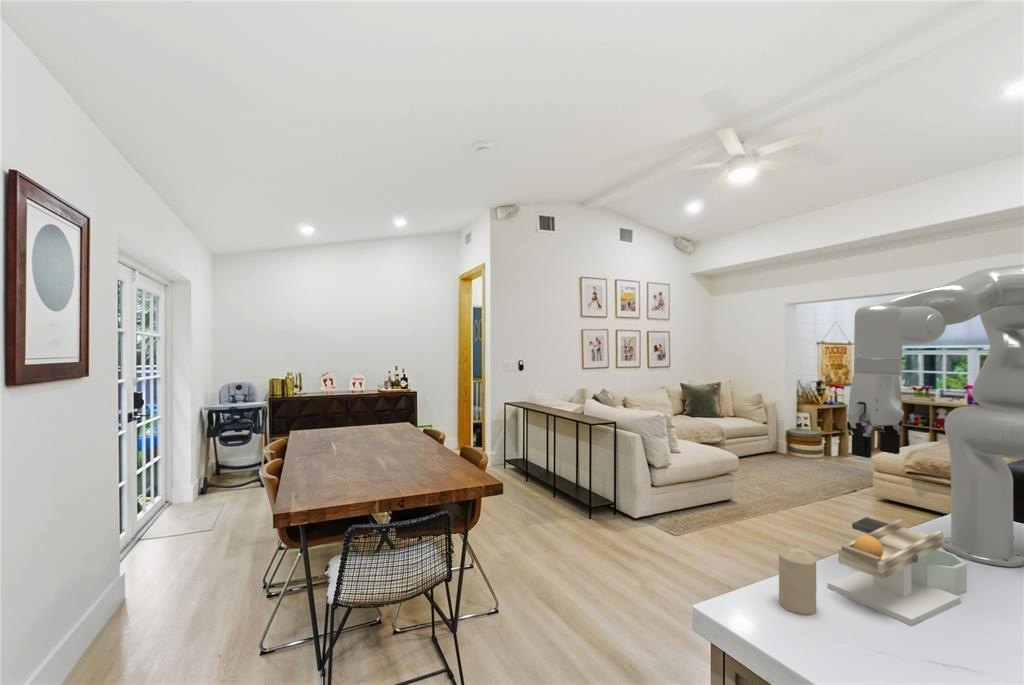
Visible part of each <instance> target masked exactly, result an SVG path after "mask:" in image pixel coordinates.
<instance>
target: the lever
mask: <svg viewBox="0 0 1024 685" xmlns="http://www.w3.org/2000/svg"><path fill="white" fill-rule="evenodd" d="M851 528H852V529H853V530H856V531H859V532H862V533H865V534H866V535H869V536H872V537H874V538H876V539H877V540H878V541H879V542H880V543H881V544H882V546H883V555H882V556H881V558H880V557H878V556H875V555H872V554H869V553H866V552H864V551H861V550H858V549H855V540H856V539H854V540H852V541H850V542H848V543H846V544H843V545H841V546H840V547H838V548H837V554H838V563H839V564H841V565H845V566H847V567H849V568H851V569H854V570H857V571H858V572H859V571H861V572H864V573H866V574H869V575H872V576H874V577H877V578H879V579H882V580H883V579H885V578H887V577H889V576H890V575H892V574H894V573H896V572H897V571H899V570H901V569H903V568H905V567H906V566H908V565H910V564H912V563H913V562H914V563H917V561H918V560H919V559H920V558H922V557H924V556H926V555H927V554H929V553H931V552H933V551H935V550H936V549H940V548H941V547H942V548H943V545H944V542H943V539H944V531H942V530H939V529H938V530H937V531H935V532H933V533H931V534H927V533H925V532H921V531H918V530H915V529H911V528H908V527H904V520H903V519H900V518H897V520H894V521H892V522H890V523H887V522H885V521H880V520H877V519H874V518H870V517H868V516H865V517H864V518H862V519H860V520H857V521H854V522H852V524H851Z"/></svg>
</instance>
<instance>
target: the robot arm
mask: <svg viewBox="0 0 1024 685" xmlns="http://www.w3.org/2000/svg"><path fill="white" fill-rule="evenodd" d="M854 313H855V314H854V333H853V334H854V335H853V336H854V337H853V340H854V343H853V347H854V348H853V376H852V380H851V383H850V390H849V399H848V411H847V415H846V416H847V420H848V427H849V429H850V435H851V454H852V455H854V456H858V457H862V458H866V459H867V458H869V459H870V458H872V447H873V446H872V442H873V441H872V437H871V436H870V434H871V432H872V430H873V428H874V427H876V428H877V427H880V428H881V429H882V431H880V433H879V451H880V452H882V453H888V454H892V455H893V454H894V455H899V454H900V453H901V452H900V451H901V450H900V449H901V434H902V428H901V427H902V425H903V418H904V415H905V412H904V410H903V409H902V391H901V380H900V377H902V376H903V373H902V371H903V369H902V367H903V353H902V352H903V345H921V344H929V343H932V342H934V341H936V340H938V339H940V338H941V337H942V336H943V335H944V333H945V330H946V327H947V326H949V325H950V326H951V325H956V324H960V323H964V322H967V321H969V320H972V319H973V318H976V317H977V316H979V317H980V318H979V319H980V320H981V323H982V326H983V328H984V330H985V333H986V336H987V339H988V342H989V351H988V354H987V356H986V358H985V360H984V362H983V364H982V365H981V367H980V370H979V372H978V374H977V376H976V379H975V380H974V383H973V385H972V388H971V395H972V399H973V401H974V402H975V403H977V404H978V405H980V406H963V407H958V408H955V409H952V410H951V411H949V413H947V415H946V417H945V419H944V432H945V437H946V440H947V441H946V442H947V444H948V449H949V455H950V496H951V497H950V522H951V523H950V530H951V533H950V536H949V537H943V542H944V545H943V546H942V548H944V549H945V551H947V552H949V553H952V554H955V555H956V556H957V557H960V558H964V559H968V560H971V561H974V562H978V563H982V564H987V565H992V566H997V567H1007V568H1008V567H1011V568H1013V567H1014V568H1015V567H1021V566H1023V565H1024V555H1022V554H1021V553H1019V552H1018V551H1016V550H1014V540H1015V535H1014V477H1013V473H1012V471H1011V469H1010V467H1009V465H1008V464H1007V462H1005V461H1004V459H1003V458H1002V456H1004V457H1009V458H1015V459H1021V460H1024V263H1023V264H1016V265H1015V264H1014V265H1007V266H999V267H998V266H997V267H990V268H984V269H980V270H979V269H978V270H976V271H973V272H972V273H969V274H967V275H964V276H962V277H959V278H958V279H955V280H953V281H951V282H948V283H945V284H943V285H942V286H937V287H933V288H931V289H927V290H924V291H923V290H922V291H919V292H917V293H913V294H910V295H906V296H901V297H898V298H893V299H891V300H888V301H885V302H883V303H880V304H878V305H867V306H862V307H859V308H857V310H856V311H855V312H854Z"/></svg>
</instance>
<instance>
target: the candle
mask: <svg viewBox="0 0 1024 685" xmlns="http://www.w3.org/2000/svg"><path fill="white" fill-rule="evenodd" d="M778 602H779V604H780V606H782V608H784V609H785V610H786V611H787V610H788V611H790V612H792V613H795V614H799V615H806V616H808V615H814V614H815V613H816V612H817V559H816V558H815V557H814V556H813V555H812V553H811V552H809V551H807V550H806V549H805V548H803V547H802V546H800V545H799V544H789V545H788V546H786V547H784V548H783V549H781V550H780V551H779V552H778Z"/></svg>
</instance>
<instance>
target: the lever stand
mask: <svg viewBox="0 0 1024 685" xmlns="http://www.w3.org/2000/svg"><path fill="white" fill-rule="evenodd" d="M826 584H827V585H826V587H827V589H829V590H831V591H833V592H836V593H838V594H840V595H842V596H845V597H847V598H849V599H851V600H853V601H855V602H858V603H860V604H862V605H864V606H867V607H869V608H871V609H873V610H876V611H878V612H880V613H882V614H884V615H886V616H888V617H890V618H893V619H895V620H898V621H900V622H902V623H905V624H907V625H909V626H915V625H916V624H918V623H920V622H921V623H922V622H923V621H925V620H927V619H929V618H931V617H934V616H935V615H937V614H939V613H942V612H943V611H945V610H948V609H950V608H953V607H954V606H957V605H958V604H960V603H961V596H959V595H954V594H951V593H949V592H946V591H943V590H941V589H938V588H933V587H927V586H923V585H921V584H918V583H915V582H913V581H911V564H910V565H908V566H906V567H905V568H903V569H901V570H899V571H897V572H896V573H894V574H892V575H890V576H889V577H887V578H885V579H883V580H882V579H879V578H877V577H874V576H872V575H869V574H866V573H864V572H861V571H859V570H858V571H857V572H854V573H850V574H848V575H845V576H842V577H839V578H836V579H833V580H831V581H828V582H827V583H826Z"/></svg>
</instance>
